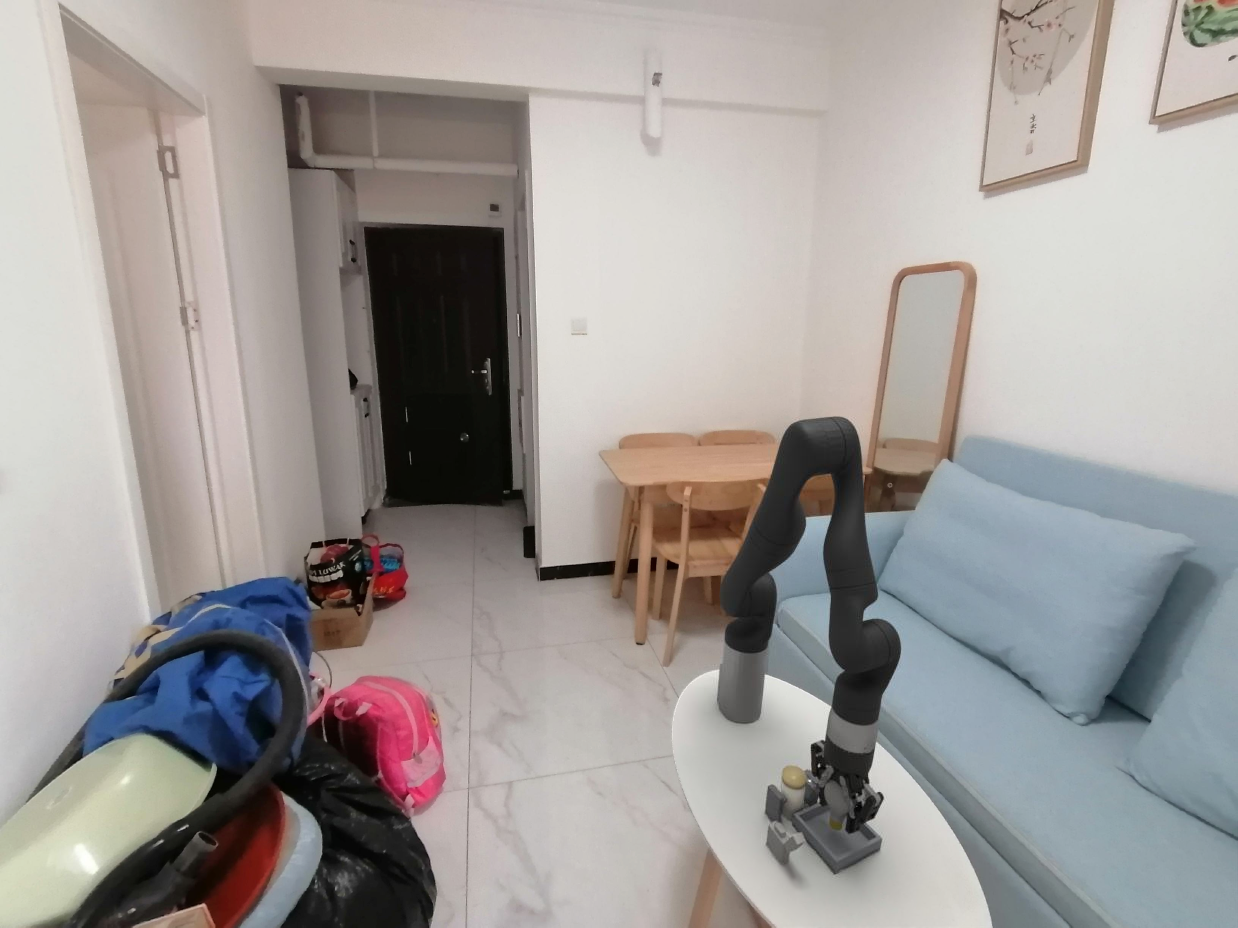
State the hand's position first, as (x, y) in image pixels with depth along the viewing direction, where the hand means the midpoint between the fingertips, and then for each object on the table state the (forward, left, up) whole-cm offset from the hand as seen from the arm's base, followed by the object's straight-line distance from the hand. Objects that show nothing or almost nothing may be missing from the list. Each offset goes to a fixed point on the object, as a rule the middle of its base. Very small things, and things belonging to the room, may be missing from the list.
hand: (838, 816), depth 102 cm
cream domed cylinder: (-7, -3, -4) cm, 9 cm away
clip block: (-7, +1, -4) cm, 9 cm away
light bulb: (0, 0, -3) cm, 3 cm away
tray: (0, 0, -4) cm, 4 cm away
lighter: (0, -11, -5) cm, 12 cm away
